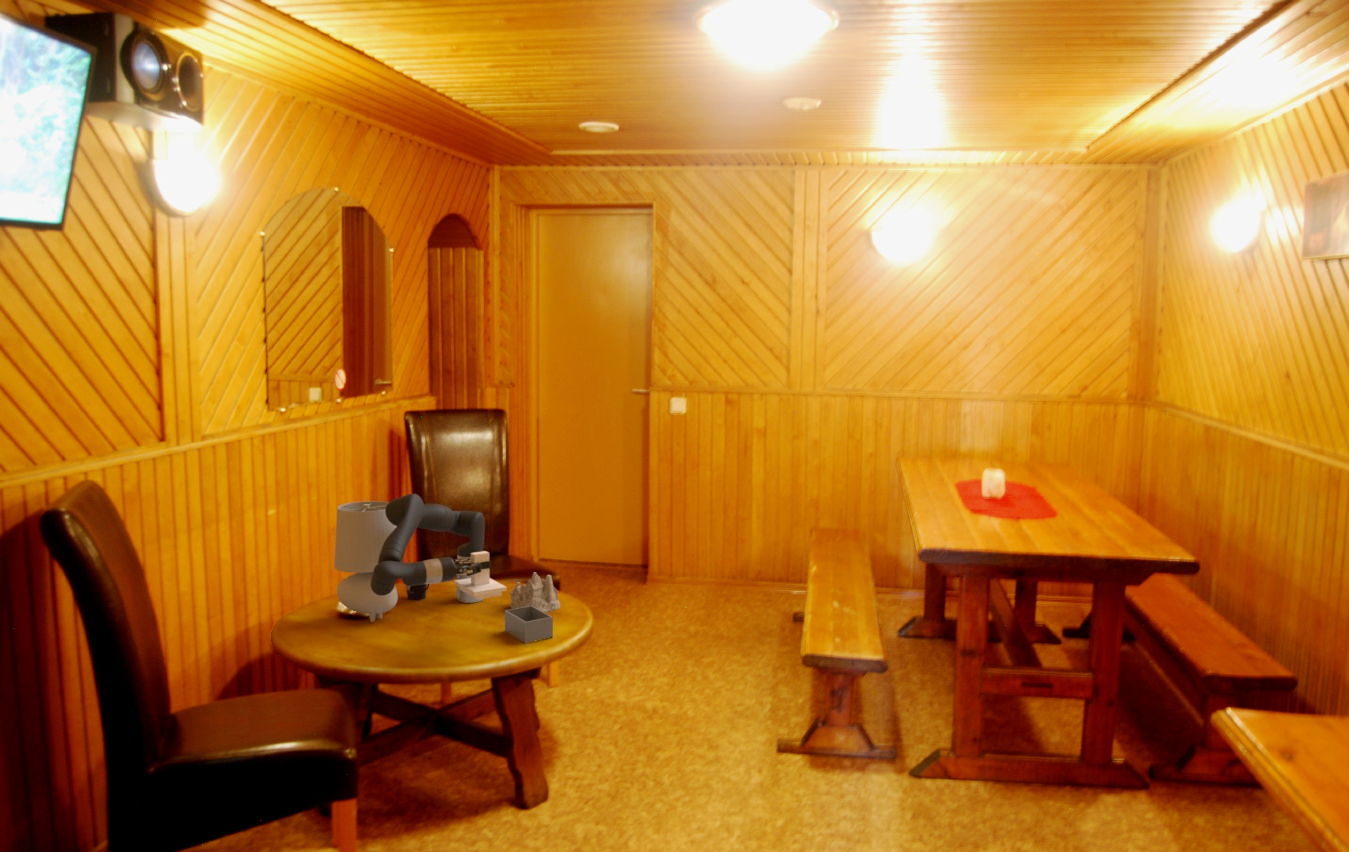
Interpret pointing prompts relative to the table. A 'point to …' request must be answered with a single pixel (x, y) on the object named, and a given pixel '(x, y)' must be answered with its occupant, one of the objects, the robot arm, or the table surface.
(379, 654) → the table surface
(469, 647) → the table surface
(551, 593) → the beige rock formation
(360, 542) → the table lamp
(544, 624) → the tub
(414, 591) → the coffee mug
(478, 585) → the slab with upright post
